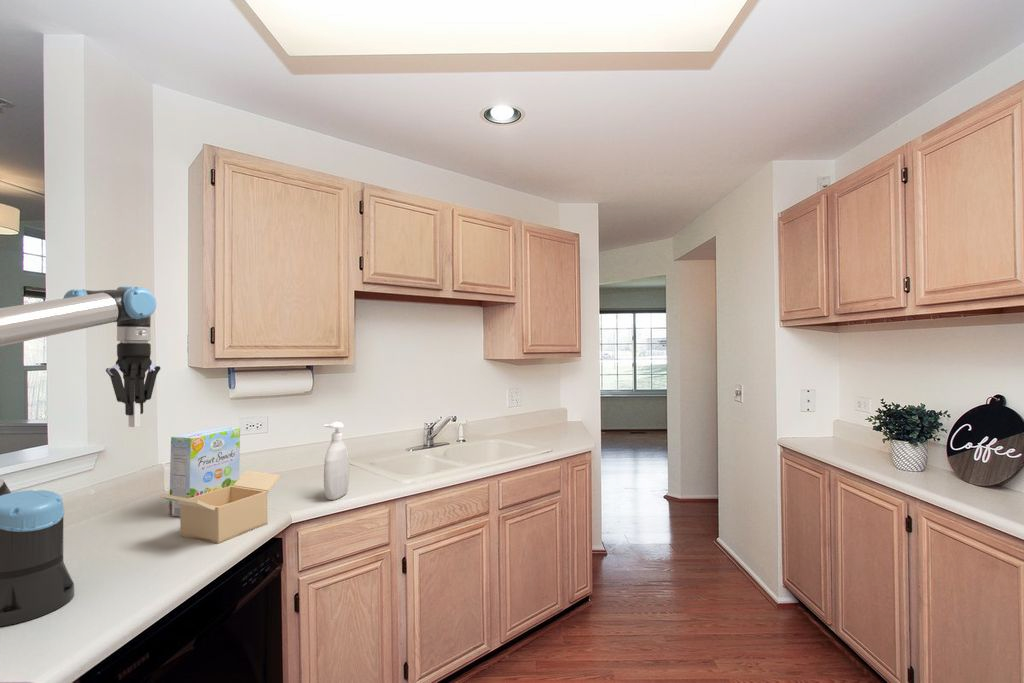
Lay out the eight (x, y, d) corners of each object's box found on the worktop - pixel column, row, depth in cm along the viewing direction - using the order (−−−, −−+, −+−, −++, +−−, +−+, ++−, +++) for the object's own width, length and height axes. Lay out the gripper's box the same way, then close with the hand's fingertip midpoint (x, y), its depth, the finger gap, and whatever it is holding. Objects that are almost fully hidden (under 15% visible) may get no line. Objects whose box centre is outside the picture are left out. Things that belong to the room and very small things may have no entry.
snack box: (190, 518, 155) (190, 437, 155) (167, 517, 157) (167, 436, 157) (241, 497, 176) (241, 426, 176) (220, 496, 178) (220, 425, 178)
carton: (218, 543, 135) (218, 507, 135) (180, 535, 141) (180, 500, 142) (267, 523, 150) (267, 491, 150) (231, 517, 156) (230, 485, 156)
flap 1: (215, 507, 135) (213, 511, 135) (179, 501, 141) (177, 504, 140) (198, 500, 131) (196, 503, 130) (162, 493, 136) (159, 497, 136)
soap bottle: (335, 489, 185) (335, 418, 185) (355, 490, 183) (355, 418, 183) (313, 502, 170) (313, 424, 170) (335, 503, 169) (334, 425, 169)
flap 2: (280, 474, 155) (281, 477, 156) (246, 470, 161) (248, 472, 162) (267, 490, 151) (269, 492, 151) (233, 485, 157) (234, 487, 157)
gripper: (115, 342, 130) (116, 431, 129) (166, 342, 142) (167, 423, 141) (99, 342, 132) (99, 429, 132) (150, 342, 144) (150, 422, 144)
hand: (134, 426), depth 137 cm, fingers closed
